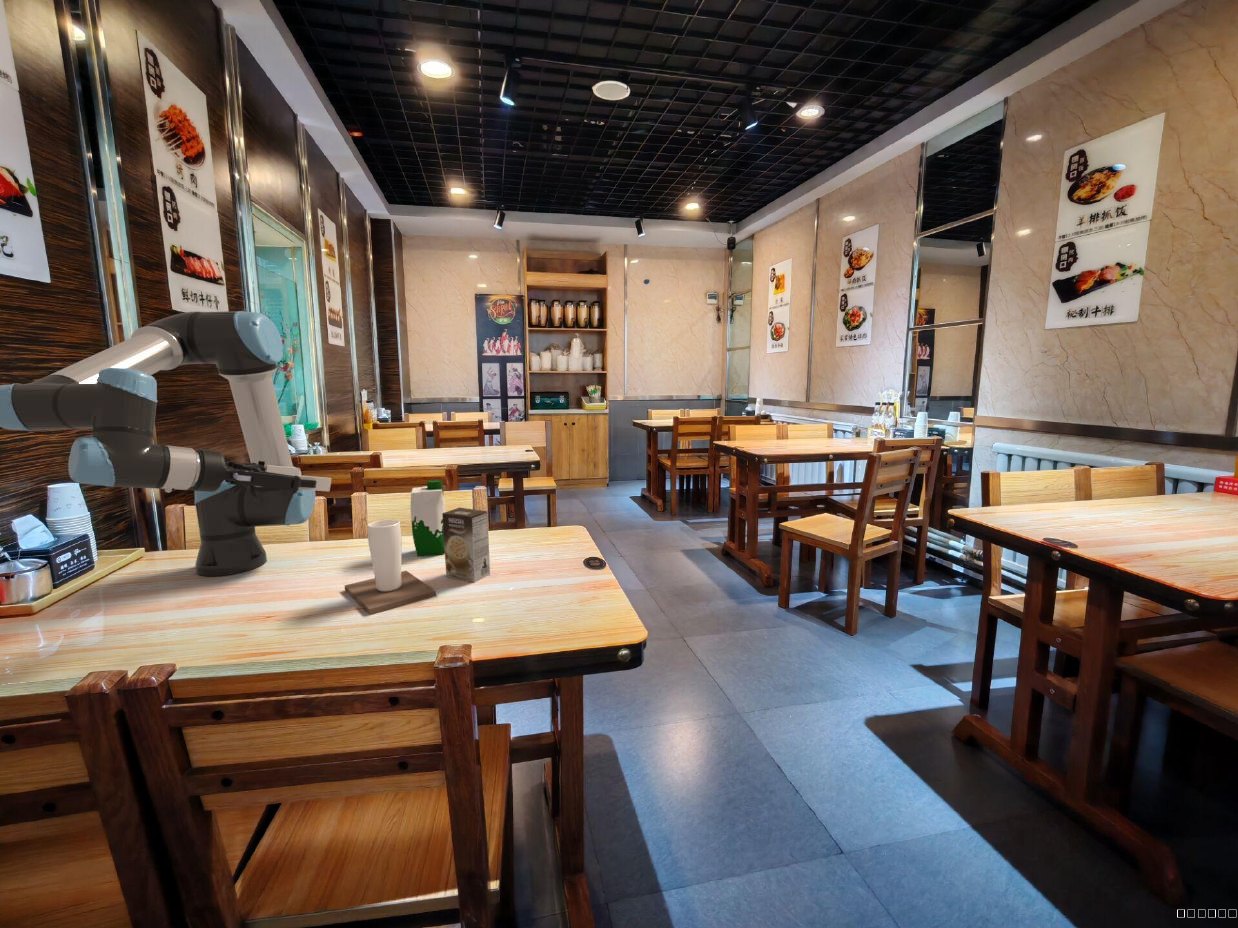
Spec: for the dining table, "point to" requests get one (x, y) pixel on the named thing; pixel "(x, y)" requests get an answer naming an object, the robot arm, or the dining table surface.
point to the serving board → (389, 593)
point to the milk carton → (428, 518)
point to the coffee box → (466, 544)
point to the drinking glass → (386, 553)
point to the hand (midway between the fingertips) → (313, 479)
